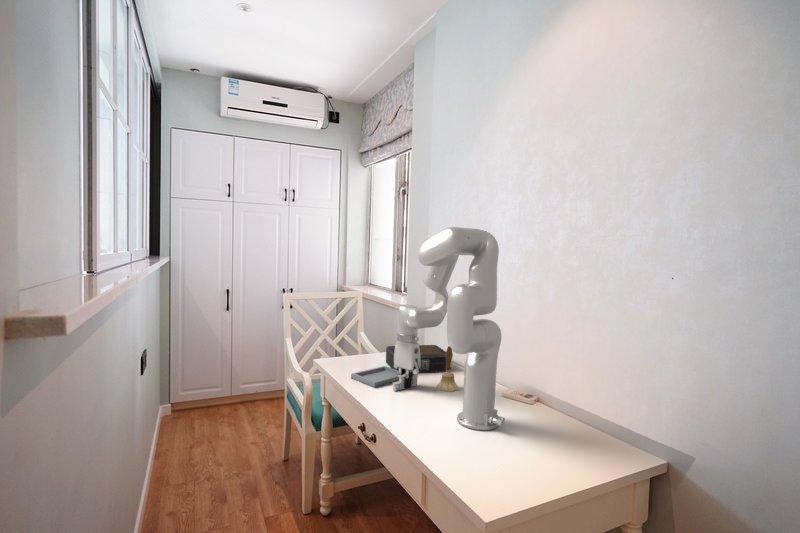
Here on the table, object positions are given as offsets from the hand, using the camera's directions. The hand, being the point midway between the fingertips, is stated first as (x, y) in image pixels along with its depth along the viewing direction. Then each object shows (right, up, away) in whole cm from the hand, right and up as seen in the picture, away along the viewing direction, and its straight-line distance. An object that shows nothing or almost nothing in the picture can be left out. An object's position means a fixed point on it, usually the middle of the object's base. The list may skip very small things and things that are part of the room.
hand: (405, 386), depth 156 cm
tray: (-10, 0, +10) cm, 14 cm away
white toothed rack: (0, -1, 0) cm, 1 cm away
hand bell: (+16, -1, +2) cm, 16 cm away
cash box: (+6, 0, +29) cm, 30 cm away
